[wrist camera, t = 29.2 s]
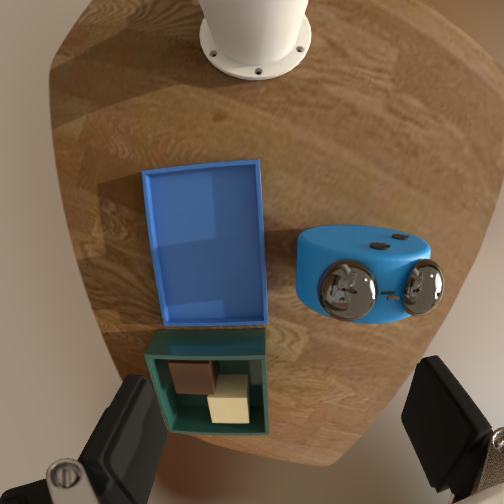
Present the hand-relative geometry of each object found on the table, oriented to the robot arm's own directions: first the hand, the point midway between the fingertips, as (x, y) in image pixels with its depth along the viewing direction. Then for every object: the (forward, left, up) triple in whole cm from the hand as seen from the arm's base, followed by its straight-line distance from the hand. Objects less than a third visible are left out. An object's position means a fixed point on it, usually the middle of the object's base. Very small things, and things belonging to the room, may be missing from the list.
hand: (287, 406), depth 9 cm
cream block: (+21, -6, -26) cm, 34 cm away
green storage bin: (+19, -8, -26) cm, 33 cm away
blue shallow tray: (+1, -7, -26) cm, 27 cm away
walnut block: (+16, -10, -26) cm, 32 cm away
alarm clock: (+2, +9, -26) cm, 28 cm away
